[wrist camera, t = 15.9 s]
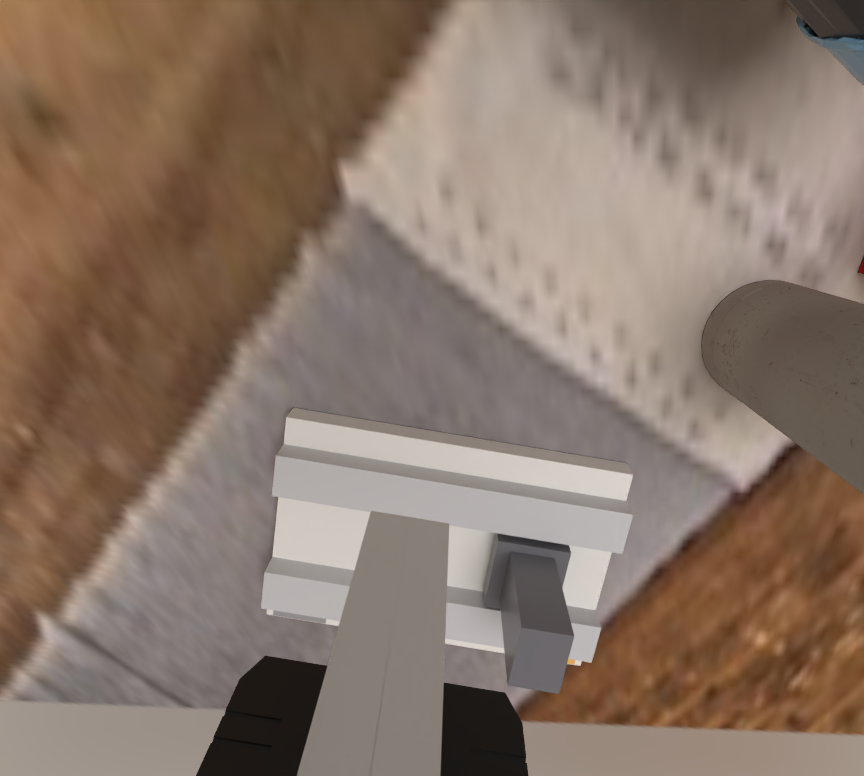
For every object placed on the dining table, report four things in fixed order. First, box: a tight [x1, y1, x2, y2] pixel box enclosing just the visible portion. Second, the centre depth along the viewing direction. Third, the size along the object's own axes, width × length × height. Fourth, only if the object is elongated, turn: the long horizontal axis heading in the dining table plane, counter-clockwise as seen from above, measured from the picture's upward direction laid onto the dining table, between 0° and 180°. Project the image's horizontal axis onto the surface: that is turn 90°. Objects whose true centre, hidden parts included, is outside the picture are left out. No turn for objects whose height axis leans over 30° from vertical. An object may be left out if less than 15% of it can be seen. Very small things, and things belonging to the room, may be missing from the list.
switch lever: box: [483, 533, 574, 694], centre depth 42 cm, size 5×5×10 cm
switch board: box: [261, 408, 633, 666], centre depth 47 cm, size 24×16×4 cm, turn 81°
